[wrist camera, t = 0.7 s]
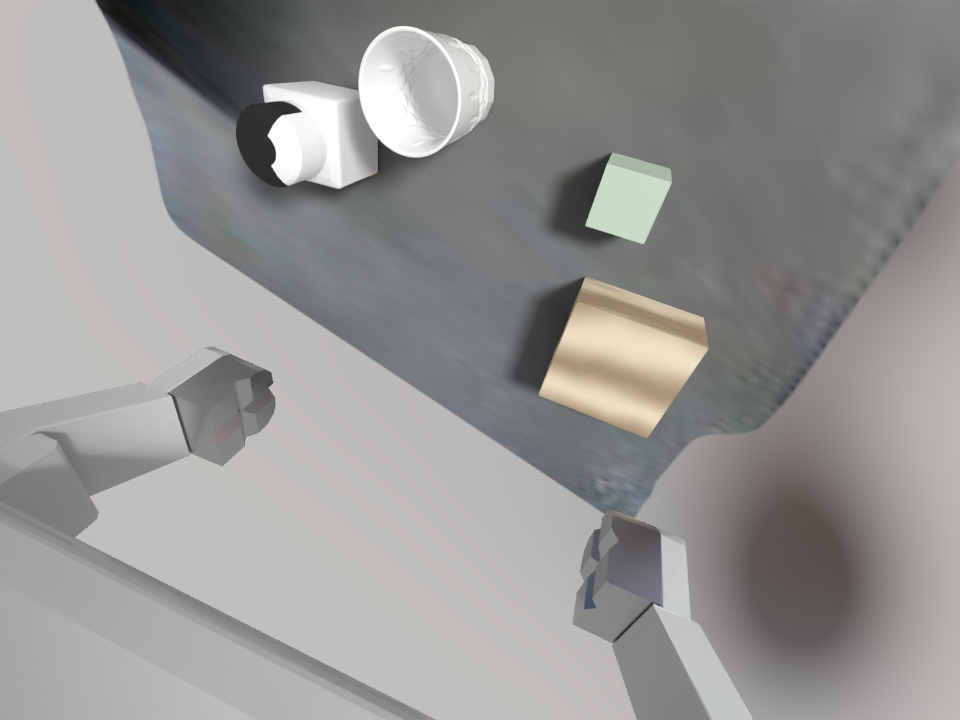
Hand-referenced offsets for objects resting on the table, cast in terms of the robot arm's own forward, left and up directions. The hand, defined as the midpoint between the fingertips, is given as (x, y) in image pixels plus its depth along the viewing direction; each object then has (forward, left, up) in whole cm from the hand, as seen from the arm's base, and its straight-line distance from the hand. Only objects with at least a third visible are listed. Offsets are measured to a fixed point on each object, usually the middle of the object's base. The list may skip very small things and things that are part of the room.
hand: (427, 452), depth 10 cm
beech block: (+17, +8, -36) cm, 41 cm away
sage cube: (+2, +3, -36) cm, 36 cm away
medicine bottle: (+4, -25, -36) cm, 44 cm away
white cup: (-2, -14, -36) cm, 39 cm away
